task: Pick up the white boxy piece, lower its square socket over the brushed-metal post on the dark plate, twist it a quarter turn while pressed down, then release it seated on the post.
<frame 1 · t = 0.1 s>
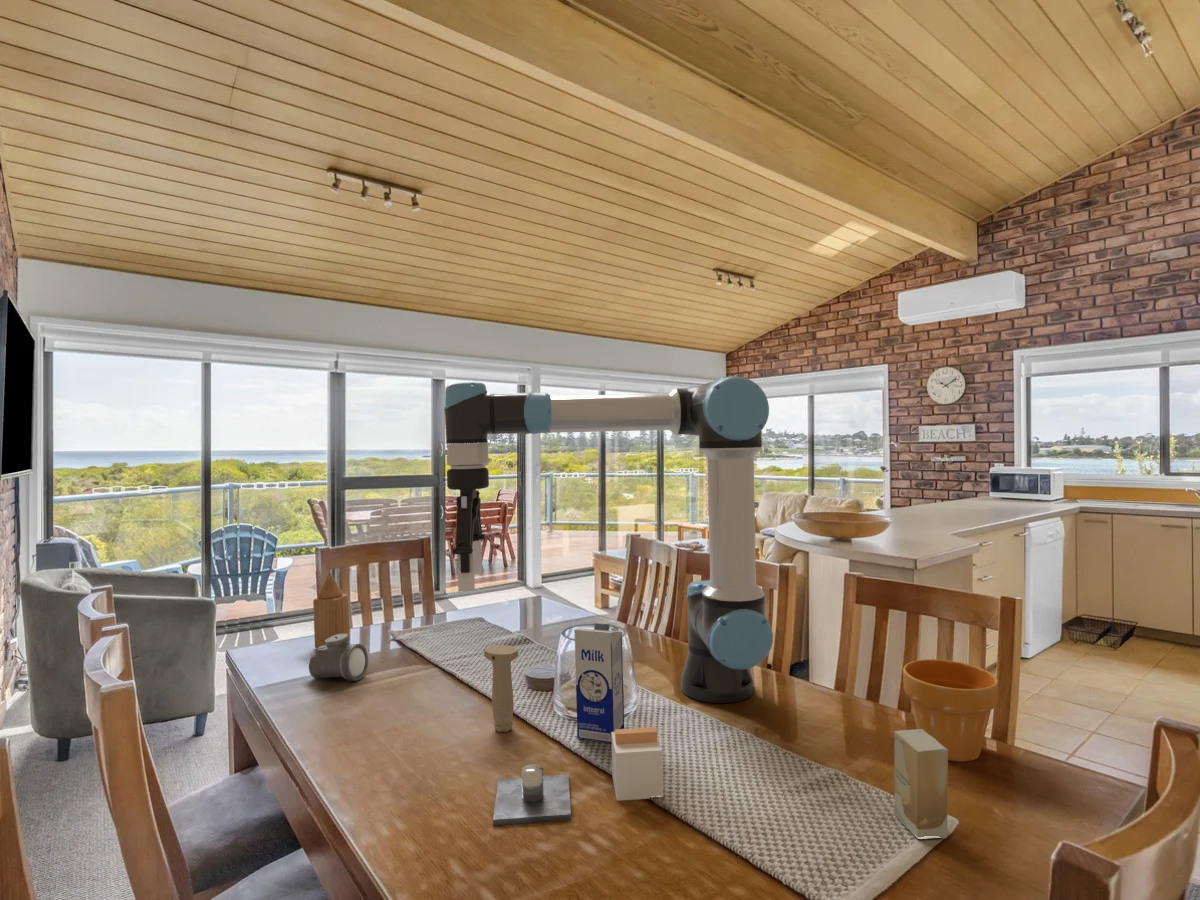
hand: (471, 582, 122), 28 cm above the table, fingers open, 13 cm apart
flower pot: (950, 750, 111), on the table
milk carton: (601, 734, 121), on the table
skincare box: (920, 828, 90), on the table
white boxy piece: (637, 786, 102), on the table
decorative item: (332, 646, 176), on the table
pipe fitting: (337, 679, 152), on the table
post base: (533, 801, 99), on the table
handle: (503, 730, 123), on the table
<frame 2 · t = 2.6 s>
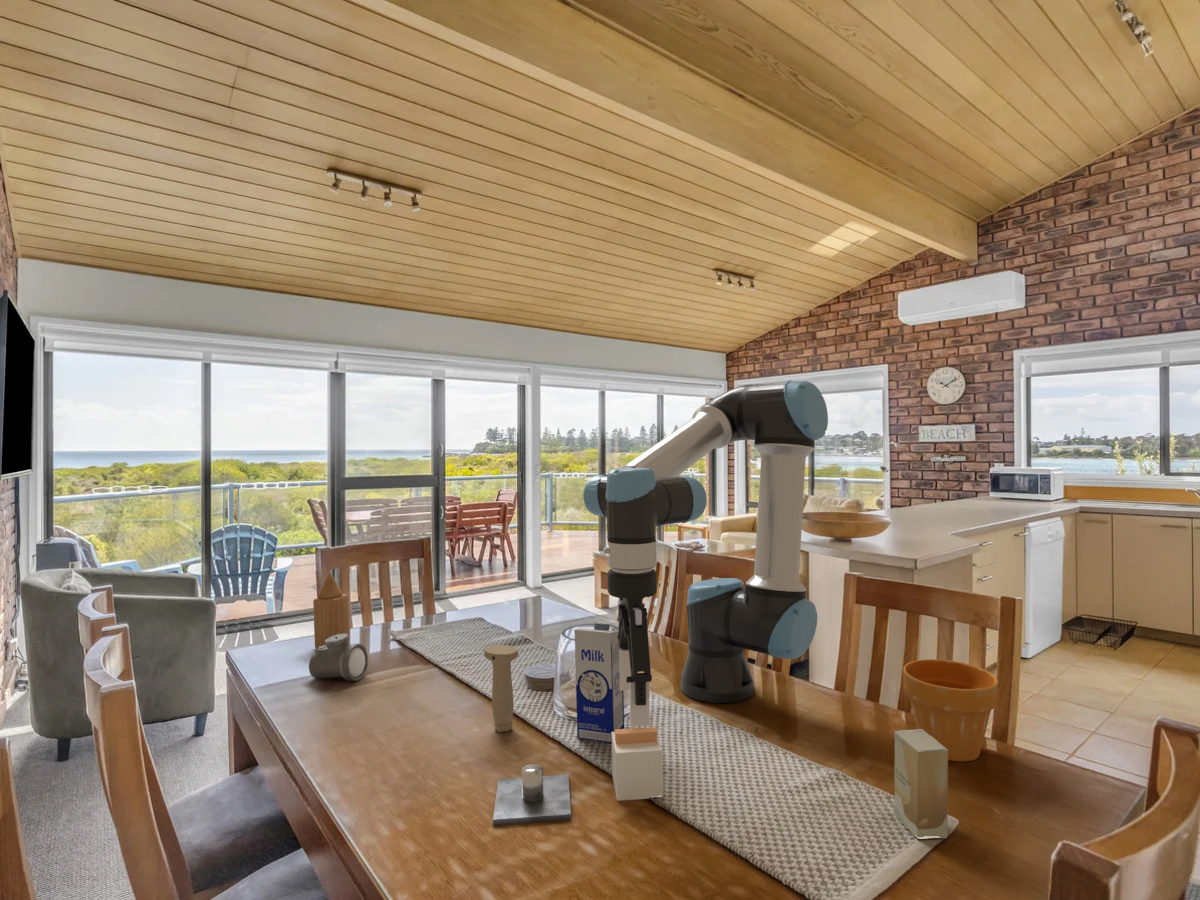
hand: (633, 706, 102), 13 cm above the table, fingers open, 13 cm apart
nothing on the table moved.
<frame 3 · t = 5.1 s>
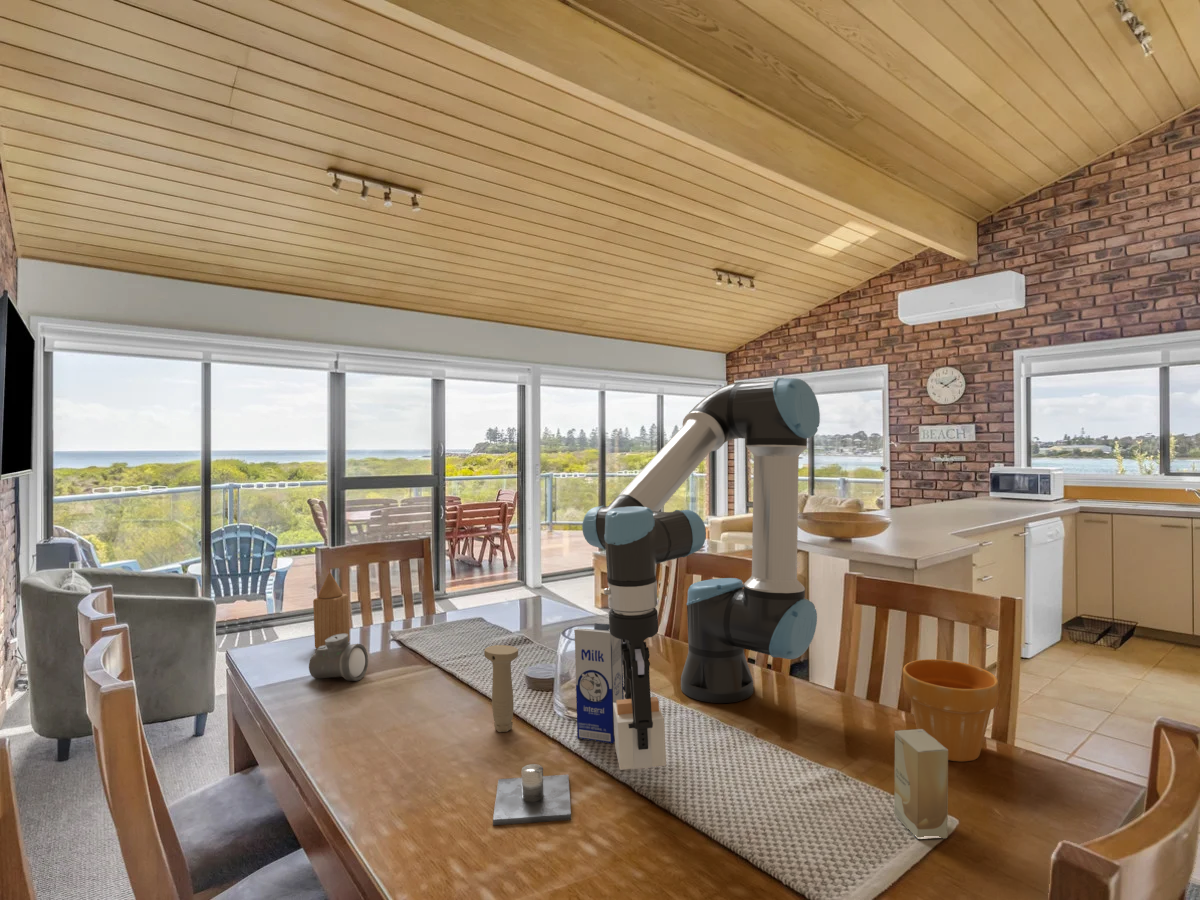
hand: (639, 753, 102), 5 cm above the table, fingers closed on white boxy piece, 7 cm apart
white boxy piece: (639, 756, 102), point 5 cm above the table, touching gripper
everything else where it was.
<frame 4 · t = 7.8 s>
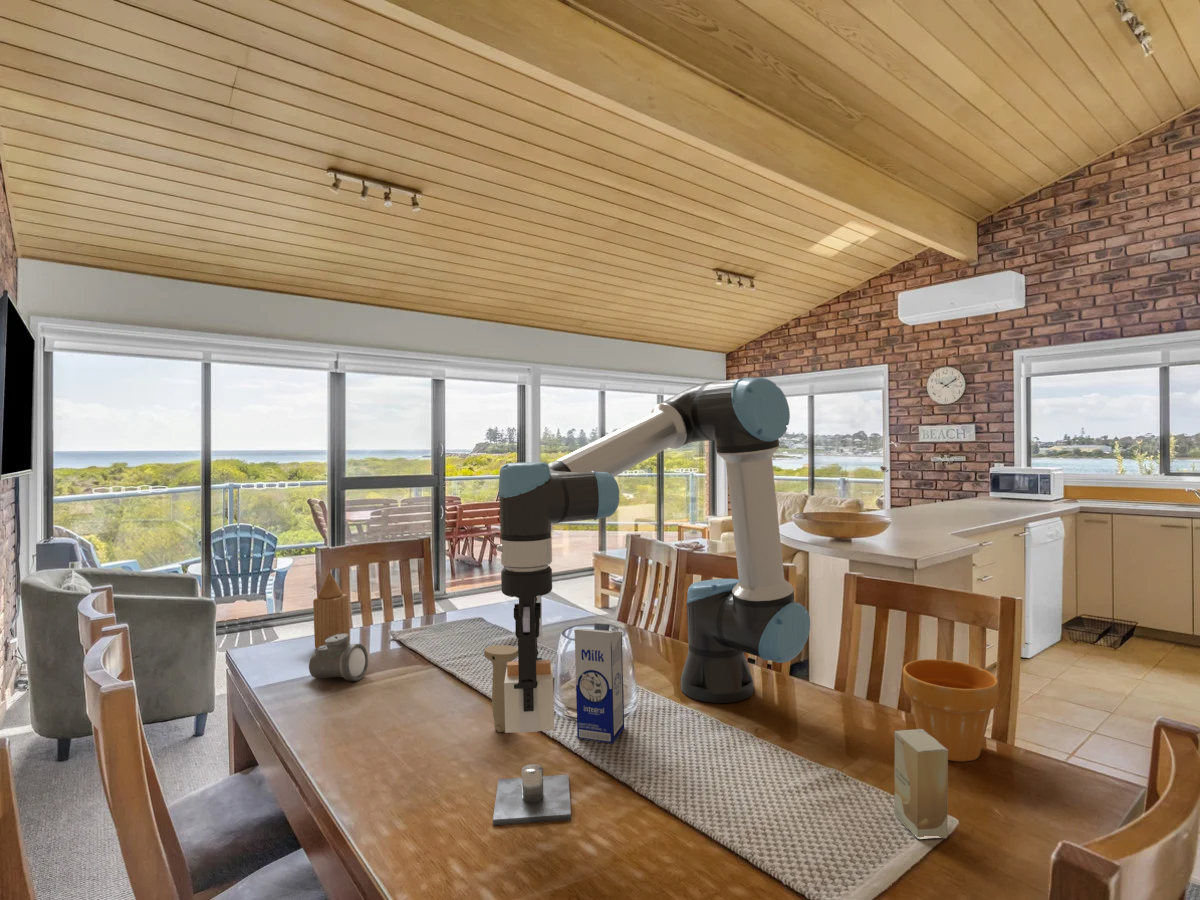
hand: (529, 719, 98), 12 cm above the table, fingers closed on white boxy piece, 7 cm apart
white boxy piece: (530, 721, 98), point 12 cm above the table, touching gripper
everything else where it was.
when the fingers open (2 cm above the table, at t = 10.9 s): white boxy piece drops 1 cm, resting on post base.
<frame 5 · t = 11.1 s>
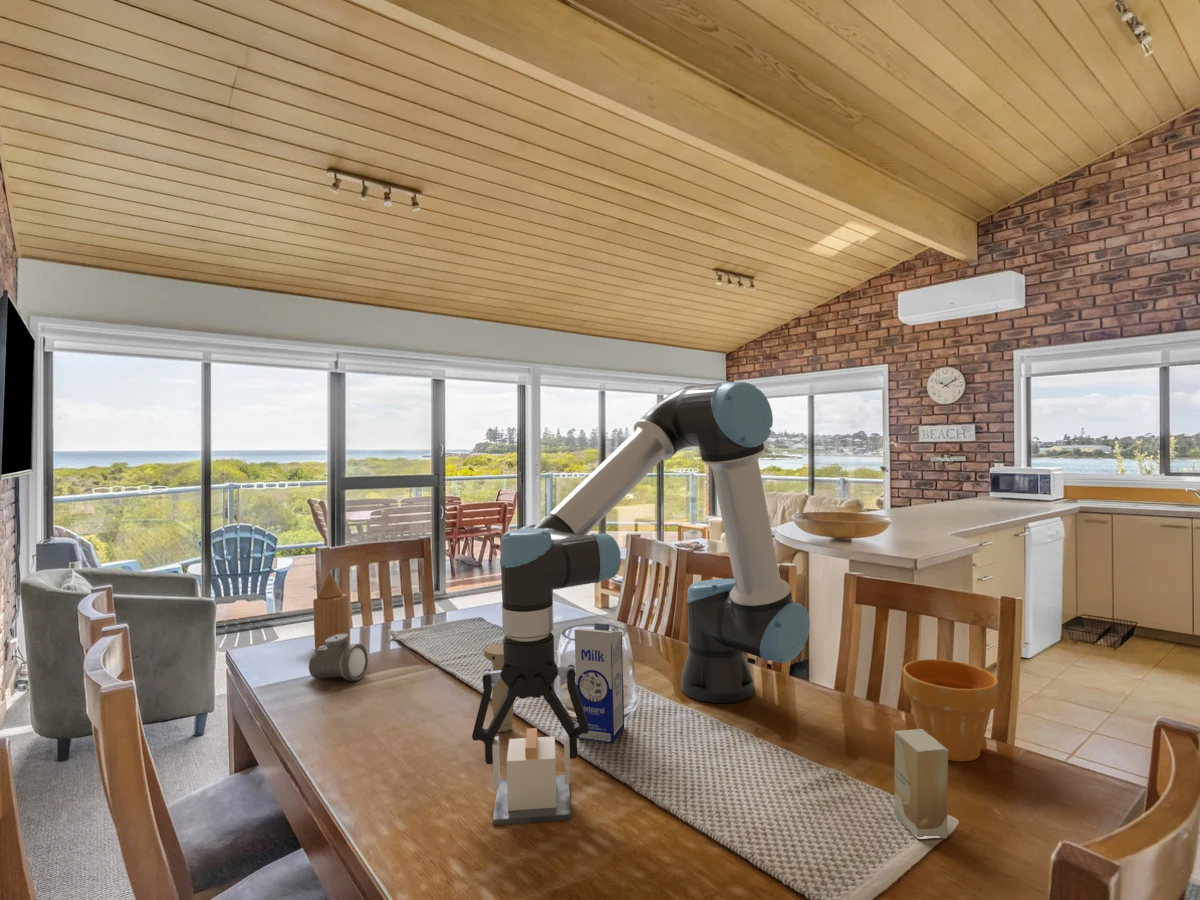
hand: (532, 781, 99), 3 cm above the table, fingers open, 10 cm apart
white boxy piece: (532, 795, 99), point 1 cm above the table, touching post base
everything else where it was.
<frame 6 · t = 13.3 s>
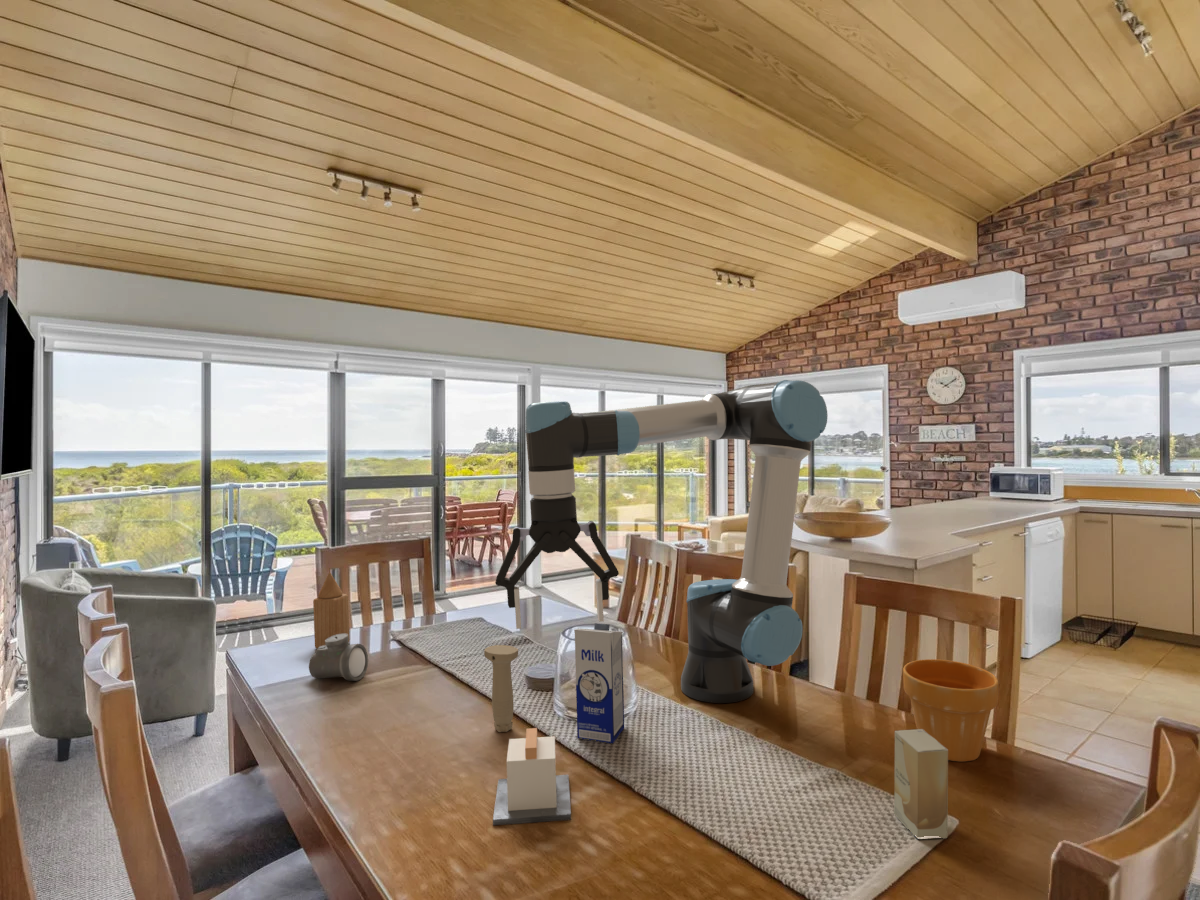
hand: (560, 623, 110), 23 cm above the table, fingers open, 13 cm apart
nothing on the table moved.
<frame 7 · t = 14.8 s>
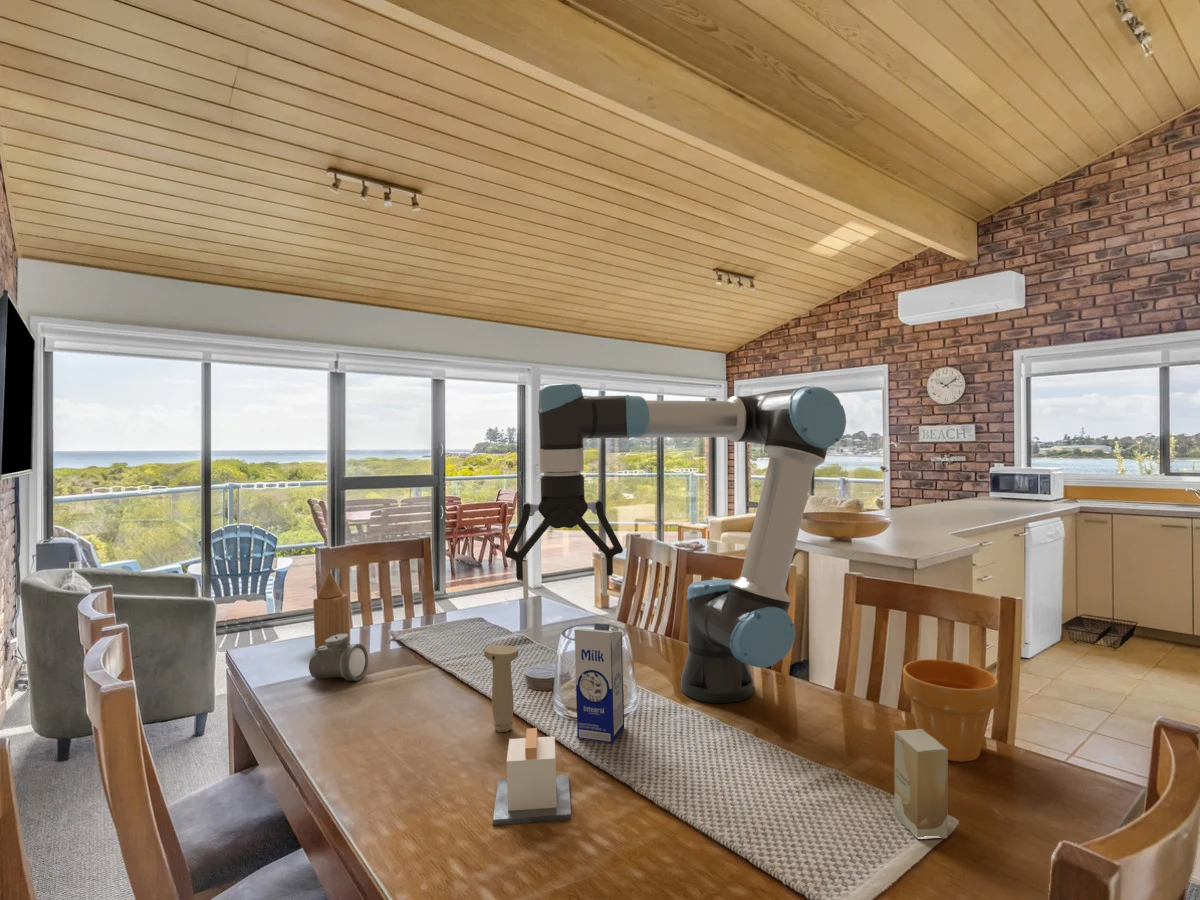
hand: (565, 596, 115), 27 cm above the table, fingers open, 13 cm apart
nothing on the table moved.
at the end: white boxy piece 0.0 cm off-centre on the post base, point 0.8 cm above the post base's base; white boxy piece tilted 0°; the gripper is holding nothing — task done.
